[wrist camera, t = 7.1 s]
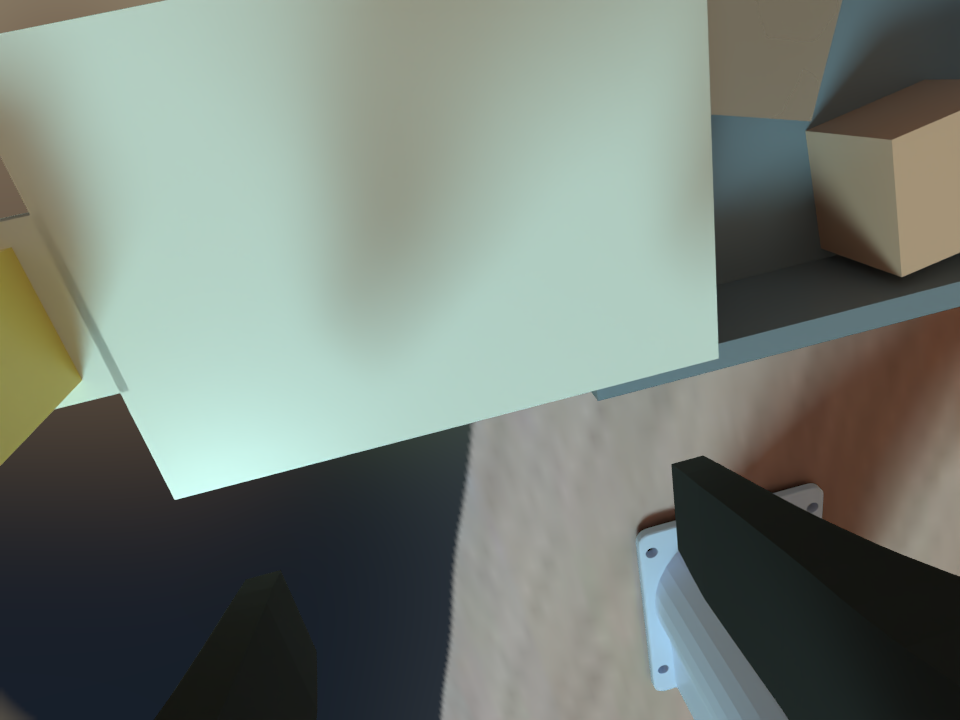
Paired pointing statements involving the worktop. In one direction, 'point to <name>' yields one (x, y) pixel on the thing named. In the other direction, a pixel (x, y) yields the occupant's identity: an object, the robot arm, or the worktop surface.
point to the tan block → (891, 179)
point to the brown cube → (768, 56)
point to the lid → (349, 218)
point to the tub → (791, 206)
